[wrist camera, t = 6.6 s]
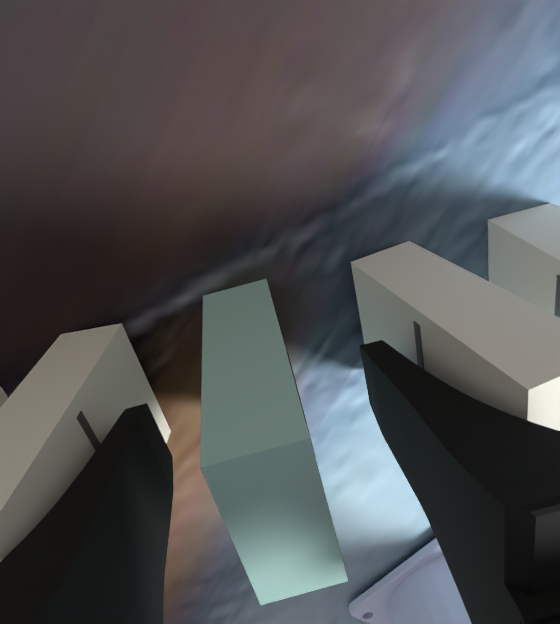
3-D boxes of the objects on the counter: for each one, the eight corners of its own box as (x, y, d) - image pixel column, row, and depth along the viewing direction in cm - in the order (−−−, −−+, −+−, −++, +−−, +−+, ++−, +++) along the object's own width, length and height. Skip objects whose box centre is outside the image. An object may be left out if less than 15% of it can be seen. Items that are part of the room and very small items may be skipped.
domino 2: (240, 404, 17) (259, 605, 10) (202, 295, 15) (198, 467, 8) (297, 389, 17) (349, 581, 11) (267, 278, 15) (311, 437, 8)
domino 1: (116, 438, 17) (6, 670, 11) (59, 334, 14) (-118, 549, 8) (171, 430, 16) (91, 665, 10) (122, 323, 14) (-16, 537, 8)
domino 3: (369, 377, 16) (521, 546, 10) (349, 262, 14) (526, 390, 8) (421, 355, 17) (598, 507, 11) (409, 240, 15) (623, 348, 9)
